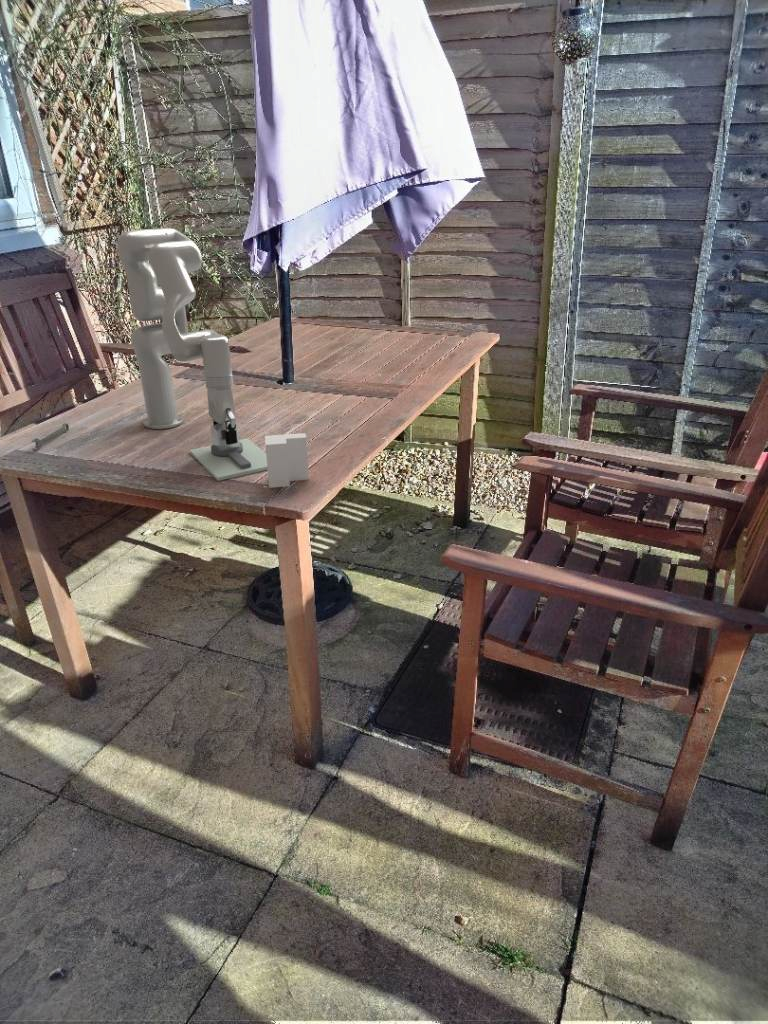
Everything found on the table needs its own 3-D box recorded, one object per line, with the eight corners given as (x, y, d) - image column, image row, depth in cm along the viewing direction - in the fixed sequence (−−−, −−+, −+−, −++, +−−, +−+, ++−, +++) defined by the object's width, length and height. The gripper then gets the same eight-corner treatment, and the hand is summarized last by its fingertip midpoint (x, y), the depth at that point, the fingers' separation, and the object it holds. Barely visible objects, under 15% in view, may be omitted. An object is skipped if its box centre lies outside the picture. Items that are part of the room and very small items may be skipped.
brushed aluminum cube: (213, 444, 206) (210, 425, 203) (232, 441, 208) (230, 421, 206) (220, 451, 201) (217, 431, 198) (240, 447, 204) (237, 427, 201)
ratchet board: (190, 453, 207) (187, 433, 204) (247, 441, 215) (245, 422, 213) (217, 481, 189) (215, 459, 186) (279, 467, 197) (278, 446, 194)
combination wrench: (64, 420, 225) (27, 441, 207) (68, 420, 225) (31, 441, 207) (67, 431, 227) (30, 453, 209) (70, 431, 227) (34, 453, 209)
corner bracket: (269, 487, 184) (265, 444, 179) (267, 471, 194) (264, 430, 189) (310, 484, 186) (307, 441, 181) (306, 468, 196) (304, 427, 191)
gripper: (196, 375, 201) (203, 432, 208) (216, 390, 188) (223, 450, 195) (221, 371, 204) (227, 427, 212) (243, 386, 191) (249, 445, 199)
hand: (225, 438), depth 204 cm, fingers open, 9 cm apart
